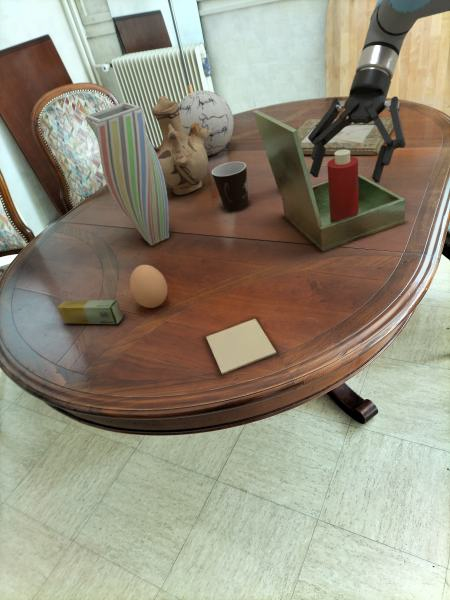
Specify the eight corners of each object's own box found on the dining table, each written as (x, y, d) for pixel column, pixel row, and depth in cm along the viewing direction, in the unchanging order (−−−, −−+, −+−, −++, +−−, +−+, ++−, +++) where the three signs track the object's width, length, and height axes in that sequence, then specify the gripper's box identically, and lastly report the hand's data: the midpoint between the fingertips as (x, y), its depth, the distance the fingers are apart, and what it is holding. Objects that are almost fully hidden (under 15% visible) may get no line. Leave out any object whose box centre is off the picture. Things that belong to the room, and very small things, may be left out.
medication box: (124, 316, 80) (118, 299, 78) (118, 325, 78) (111, 307, 76) (70, 316, 84) (63, 299, 81) (63, 324, 81) (55, 307, 79)
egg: (174, 309, 79) (160, 271, 73) (139, 320, 78) (122, 282, 73) (170, 290, 84) (157, 252, 79) (138, 299, 84) (122, 262, 78)
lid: (256, 109, 83) (252, 111, 83) (297, 129, 68) (292, 132, 68) (283, 193, 95) (279, 195, 95) (322, 225, 80) (318, 227, 80)
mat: (276, 353, 64) (276, 351, 64) (222, 374, 63) (221, 372, 63) (255, 320, 72) (255, 318, 71) (206, 338, 70) (206, 336, 70)
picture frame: (377, 156, 115) (378, 146, 113) (276, 155, 129) (275, 147, 128) (397, 122, 132) (397, 114, 130) (306, 125, 146) (305, 117, 145)
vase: (142, 259, 96) (90, 126, 78) (122, 240, 106) (72, 117, 88) (192, 235, 100) (154, 103, 82) (168, 218, 110) (130, 98, 92)
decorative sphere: (196, 144, 155) (182, 86, 143) (246, 140, 147) (236, 79, 135) (172, 167, 141) (154, 104, 129) (226, 163, 133) (212, 97, 121)
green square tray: (355, 192, 100) (354, 171, 97) (404, 222, 86) (405, 199, 83) (284, 216, 98) (281, 196, 95) (322, 252, 84) (320, 228, 80)
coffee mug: (232, 196, 113) (224, 160, 107) (259, 199, 108) (252, 162, 102) (206, 217, 106) (197, 180, 100) (233, 221, 101) (225, 183, 95)
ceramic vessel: (144, 201, 123) (114, 112, 108) (181, 173, 134) (158, 90, 119) (194, 205, 113) (169, 109, 98) (229, 175, 125) (211, 85, 110)
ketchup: (364, 215, 90) (364, 151, 81) (338, 224, 89) (336, 160, 80) (349, 205, 94) (347, 144, 86) (325, 214, 94) (321, 152, 85)
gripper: (440, 84, 82) (408, 189, 82) (324, 89, 96) (297, 179, 97) (435, 61, 76) (400, 175, 76) (311, 71, 90) (283, 166, 91)
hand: (343, 177), depth 87 cm, fingers open, 13 cm apart
